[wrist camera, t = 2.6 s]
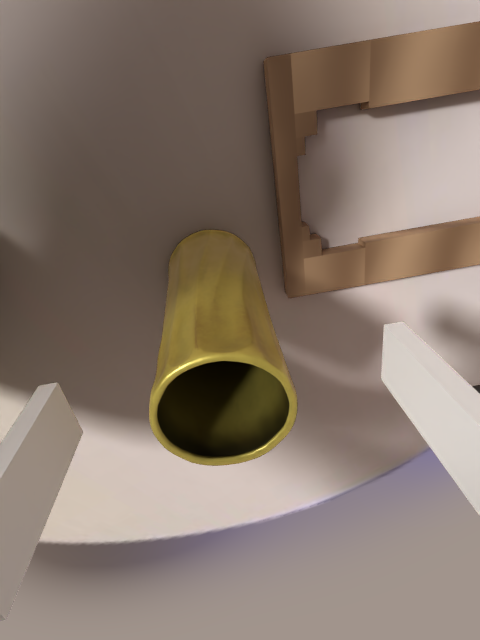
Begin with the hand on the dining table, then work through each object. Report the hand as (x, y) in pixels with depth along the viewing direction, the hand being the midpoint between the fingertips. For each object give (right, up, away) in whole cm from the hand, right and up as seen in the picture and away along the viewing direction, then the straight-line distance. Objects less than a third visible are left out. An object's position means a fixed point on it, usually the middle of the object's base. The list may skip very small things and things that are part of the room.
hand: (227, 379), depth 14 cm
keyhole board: (+12, +12, +8) cm, 19 cm away
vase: (-1, +6, +11) cm, 12 cm away
